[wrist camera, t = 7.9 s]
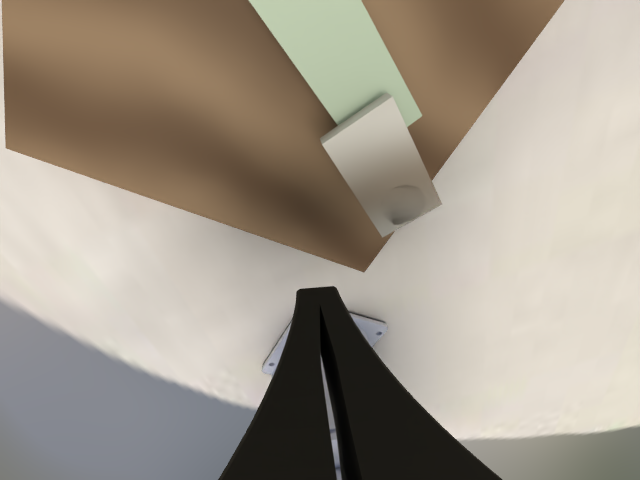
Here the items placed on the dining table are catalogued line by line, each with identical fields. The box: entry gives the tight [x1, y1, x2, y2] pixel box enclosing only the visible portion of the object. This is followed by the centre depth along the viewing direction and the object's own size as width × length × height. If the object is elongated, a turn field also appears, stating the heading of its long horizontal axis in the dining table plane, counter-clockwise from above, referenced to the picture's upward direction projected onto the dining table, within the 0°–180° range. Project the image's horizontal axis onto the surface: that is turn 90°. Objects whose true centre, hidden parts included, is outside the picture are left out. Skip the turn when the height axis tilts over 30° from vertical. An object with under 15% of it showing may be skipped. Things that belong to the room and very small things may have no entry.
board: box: [2, 0, 564, 272], centre depth 12 cm, size 18×20×6 cm
